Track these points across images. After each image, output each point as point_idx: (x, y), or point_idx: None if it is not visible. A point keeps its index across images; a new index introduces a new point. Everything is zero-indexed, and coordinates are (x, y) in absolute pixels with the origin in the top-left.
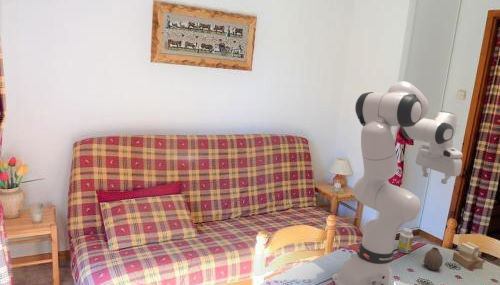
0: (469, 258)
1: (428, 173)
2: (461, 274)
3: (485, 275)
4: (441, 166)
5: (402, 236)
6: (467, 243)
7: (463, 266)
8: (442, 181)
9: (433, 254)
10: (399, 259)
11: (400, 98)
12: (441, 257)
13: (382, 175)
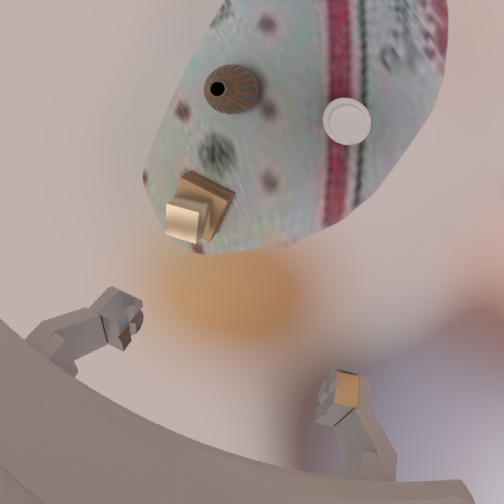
0: (183, 192)
1: (315, 420)
2: (183, 130)
3: (158, 181)
4: (31, 441)
5: (351, 98)
6: (191, 228)
7: (199, 175)
8: (116, 303)
9: (218, 72)
10: (319, 49)
11: None
12: (204, 91)
13: None
